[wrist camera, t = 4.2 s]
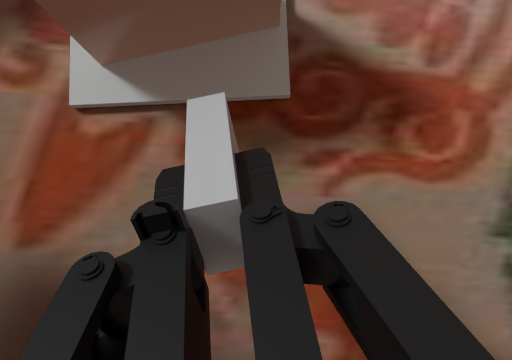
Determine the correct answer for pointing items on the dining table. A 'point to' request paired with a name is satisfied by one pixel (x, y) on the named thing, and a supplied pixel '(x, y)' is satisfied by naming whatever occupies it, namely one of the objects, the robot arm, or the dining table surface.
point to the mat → (187, 72)
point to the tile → (156, 23)
